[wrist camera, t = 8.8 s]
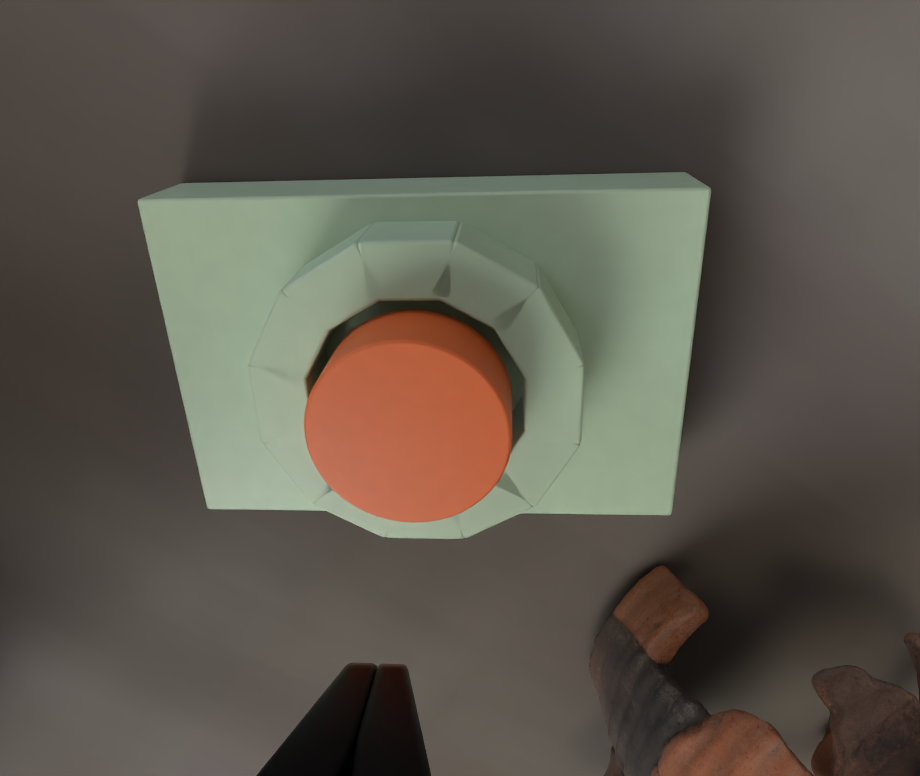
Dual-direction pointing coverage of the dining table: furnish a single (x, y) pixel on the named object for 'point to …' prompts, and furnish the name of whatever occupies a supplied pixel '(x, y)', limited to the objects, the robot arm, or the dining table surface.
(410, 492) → the call button
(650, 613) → the pottery mug
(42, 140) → the dining table surface
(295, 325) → the box
